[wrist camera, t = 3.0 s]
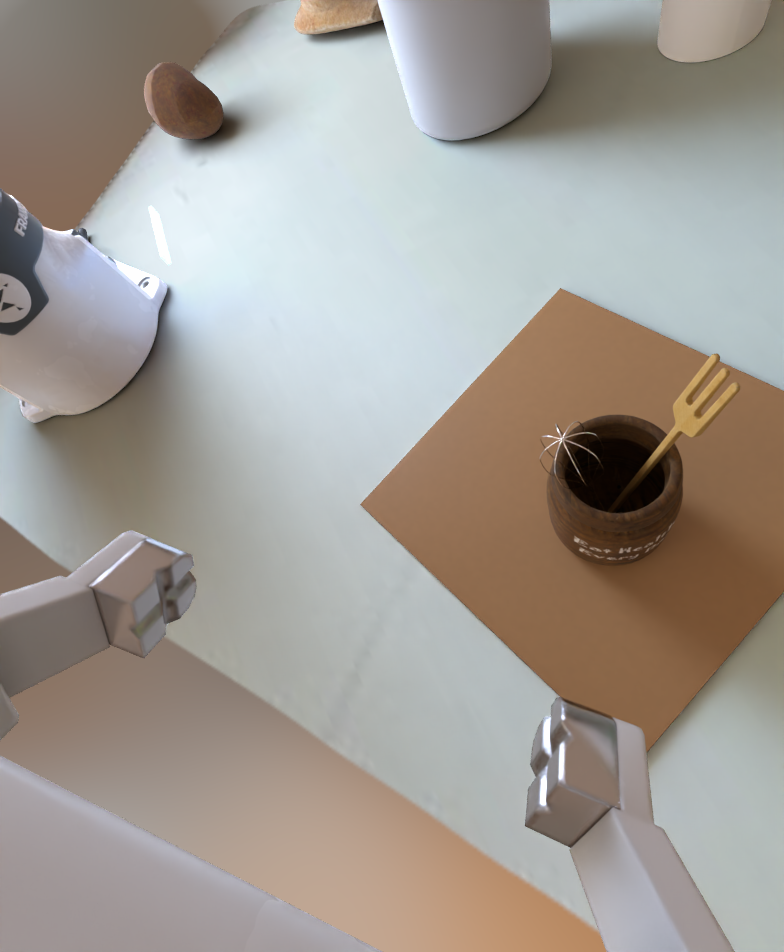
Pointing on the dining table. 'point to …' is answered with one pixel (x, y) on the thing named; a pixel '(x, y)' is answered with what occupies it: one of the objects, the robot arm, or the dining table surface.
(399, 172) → the dining table surface
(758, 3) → the cylindrical container
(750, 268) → the dining table surface
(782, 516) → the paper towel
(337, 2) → the stone cup
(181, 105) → the potato
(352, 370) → the dining table surface
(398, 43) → the cylinder vase
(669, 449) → the utensil holder
